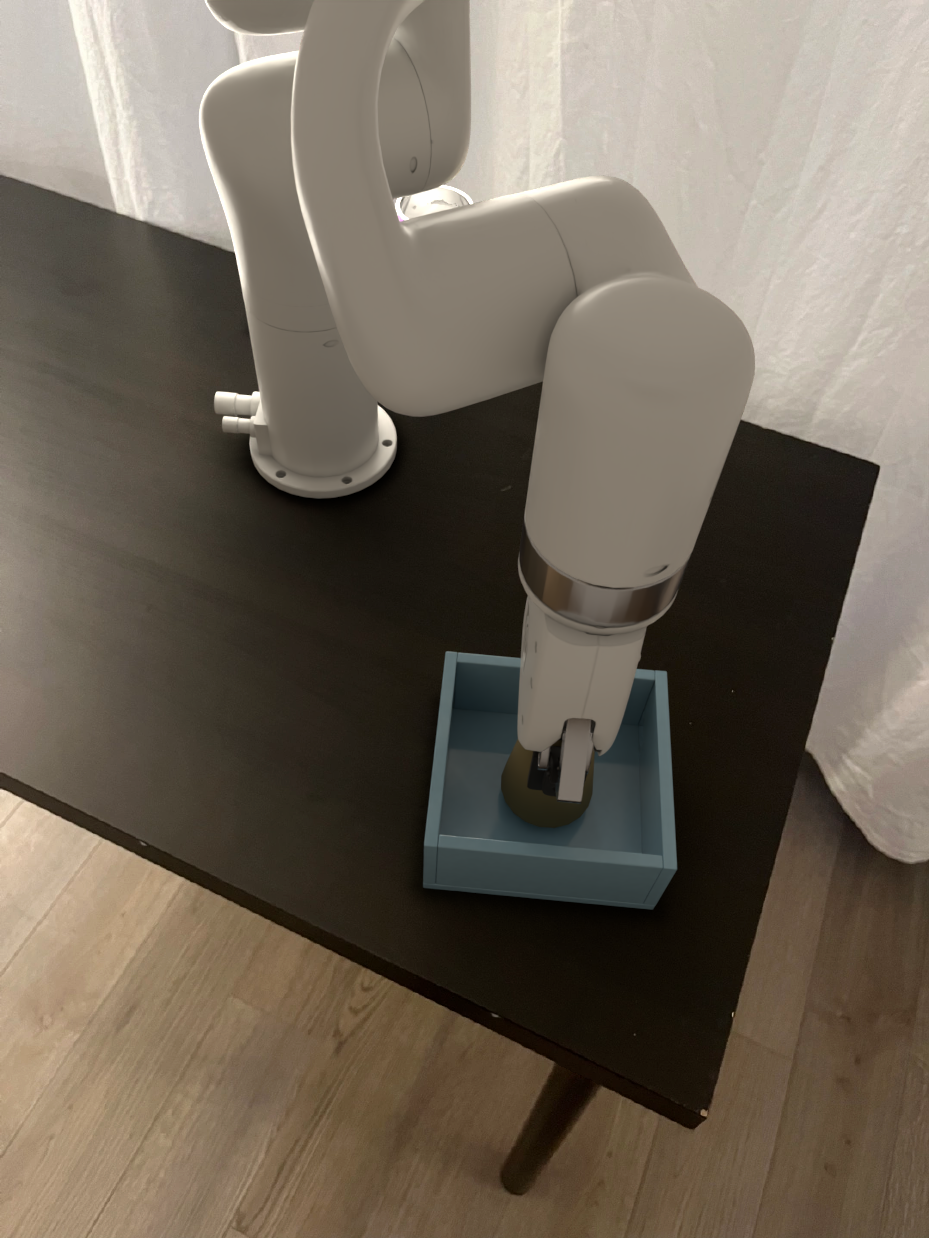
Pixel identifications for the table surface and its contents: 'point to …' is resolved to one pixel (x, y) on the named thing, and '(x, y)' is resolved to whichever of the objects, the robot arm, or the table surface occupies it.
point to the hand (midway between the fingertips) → (555, 741)
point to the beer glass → (430, 202)
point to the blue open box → (538, 856)
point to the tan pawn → (539, 793)
